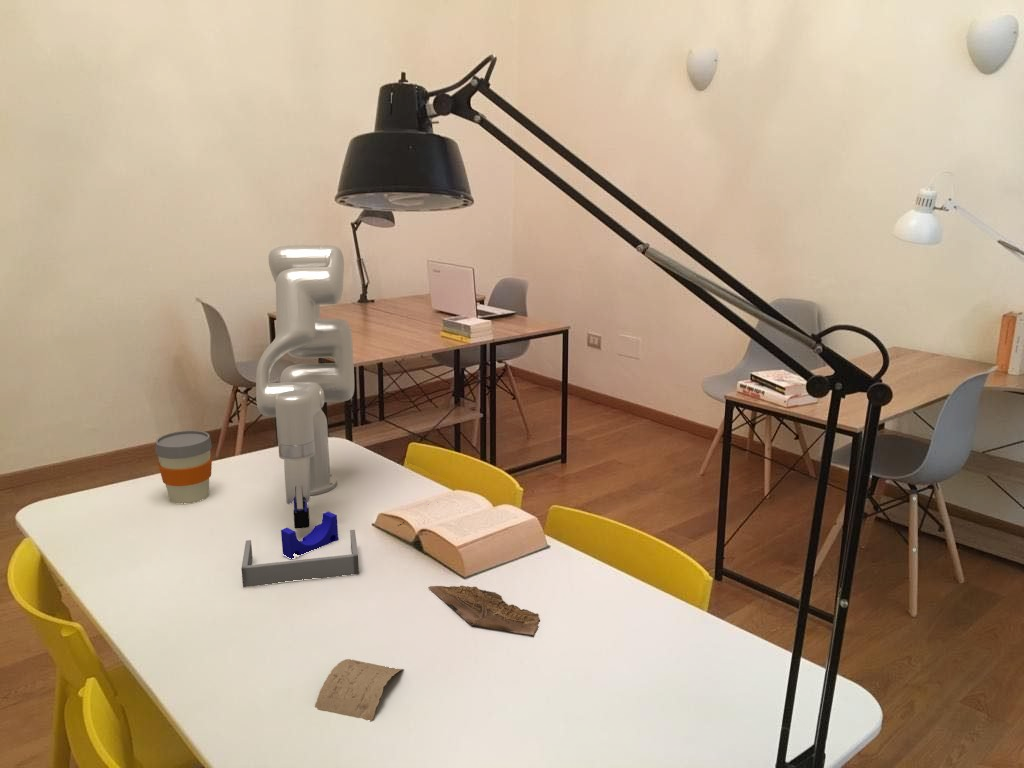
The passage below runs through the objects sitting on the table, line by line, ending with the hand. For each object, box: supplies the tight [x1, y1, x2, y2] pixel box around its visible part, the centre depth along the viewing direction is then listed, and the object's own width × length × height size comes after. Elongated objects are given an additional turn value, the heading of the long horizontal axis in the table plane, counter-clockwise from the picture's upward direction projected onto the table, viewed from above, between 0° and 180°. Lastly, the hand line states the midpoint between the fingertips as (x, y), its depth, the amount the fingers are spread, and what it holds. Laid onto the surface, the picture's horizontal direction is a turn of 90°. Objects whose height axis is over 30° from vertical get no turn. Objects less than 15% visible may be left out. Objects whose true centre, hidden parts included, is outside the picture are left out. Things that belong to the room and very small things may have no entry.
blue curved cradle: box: [280, 510, 339, 560], centre depth 168 cm, size 12×4×6 cm, turn 140°
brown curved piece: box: [314, 658, 404, 722], centre depth 123 cm, size 14×10×3 cm
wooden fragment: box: [427, 585, 540, 638], centre depth 145 cm, size 26×11×1 cm, turn 48°
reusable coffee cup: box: [155, 430, 213, 505], centre depth 191 cm, size 13×13×15 cm
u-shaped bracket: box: [240, 529, 360, 588], centre depth 160 cm, size 12×22×4 cm, turn 104°
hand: (302, 526), depth 174 cm, fingers closed
